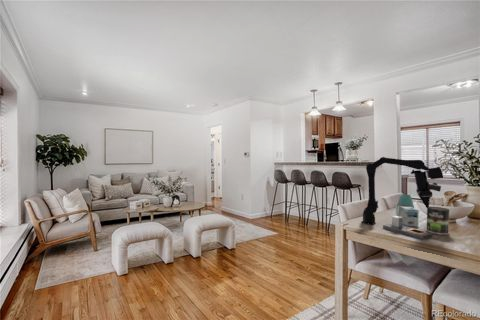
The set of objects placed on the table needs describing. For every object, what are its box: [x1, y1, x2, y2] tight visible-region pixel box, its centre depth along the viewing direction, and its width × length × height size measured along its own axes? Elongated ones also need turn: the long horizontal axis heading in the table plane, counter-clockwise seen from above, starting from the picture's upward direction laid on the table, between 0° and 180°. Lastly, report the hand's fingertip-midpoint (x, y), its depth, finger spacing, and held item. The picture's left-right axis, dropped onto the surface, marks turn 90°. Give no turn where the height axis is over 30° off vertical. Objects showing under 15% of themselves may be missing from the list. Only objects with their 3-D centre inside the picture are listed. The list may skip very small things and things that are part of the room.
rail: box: [382, 223, 434, 241], centre depth 142 cm, size 22×10×2 cm, turn 26°
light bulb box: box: [400, 206, 420, 228], centre depth 159 cm, size 11×7×11 cm, turn 168°
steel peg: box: [391, 215, 404, 228], centre depth 146 cm, size 4×4×8 cm
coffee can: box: [426, 206, 450, 236], centre depth 143 cm, size 10×10×14 cm
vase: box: [395, 194, 416, 216], centre depth 171 cm, size 12×12×18 cm
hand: (426, 206), depth 145 cm, fingers open, 9 cm apart
